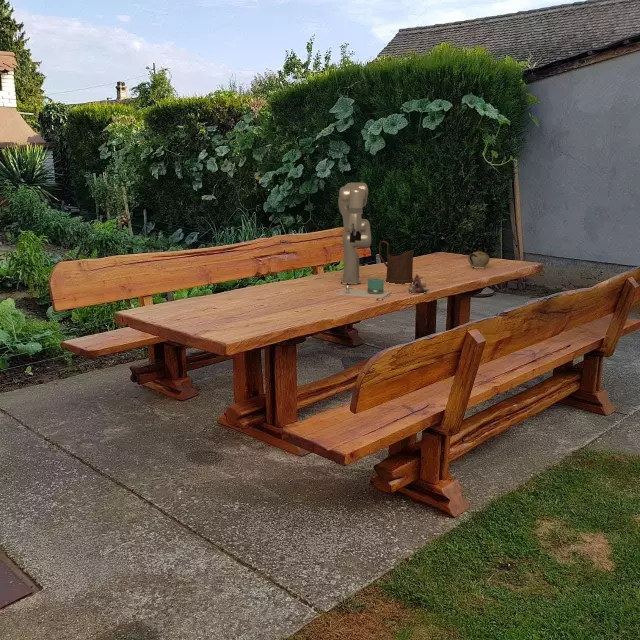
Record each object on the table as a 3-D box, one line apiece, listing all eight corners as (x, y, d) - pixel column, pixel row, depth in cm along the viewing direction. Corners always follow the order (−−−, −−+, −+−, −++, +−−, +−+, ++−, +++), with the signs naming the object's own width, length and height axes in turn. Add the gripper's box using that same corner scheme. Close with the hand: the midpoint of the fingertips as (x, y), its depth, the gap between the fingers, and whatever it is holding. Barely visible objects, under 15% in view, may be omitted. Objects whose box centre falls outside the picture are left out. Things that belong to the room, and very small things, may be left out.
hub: (370, 290, 381) (370, 279, 380) (385, 292, 378) (385, 280, 377) (365, 293, 373) (365, 282, 372) (380, 294, 370) (381, 283, 369)
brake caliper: (402, 287, 386) (414, 270, 386) (415, 298, 390) (427, 281, 390) (410, 291, 375) (422, 273, 375) (424, 302, 379) (436, 285, 379)
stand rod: (346, 292, 376) (346, 284, 375) (349, 293, 375) (350, 285, 374) (345, 293, 374) (345, 285, 373) (348, 293, 373) (348, 285, 372)
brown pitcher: (404, 286, 406) (406, 244, 400) (371, 282, 420) (371, 241, 415) (419, 282, 420) (421, 242, 415) (386, 278, 434) (387, 239, 429)
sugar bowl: (478, 265, 491) (479, 245, 488) (495, 268, 480) (496, 247, 477) (461, 268, 479) (462, 247, 476) (477, 270, 468) (479, 249, 465)
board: (346, 291, 389) (346, 288, 389) (391, 294, 379) (391, 291, 379) (334, 296, 372) (334, 294, 371) (381, 300, 362) (381, 297, 362)
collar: (367, 288, 377) (368, 278, 376) (378, 287, 379) (378, 278, 378) (373, 290, 371) (373, 280, 370) (383, 289, 374) (383, 280, 372)
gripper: (354, 210, 391) (354, 239, 395) (344, 212, 375) (344, 242, 379) (366, 210, 388) (366, 240, 392) (357, 212, 373) (356, 243, 376)
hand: (355, 241), depth 386 cm, fingers open, 9 cm apart
